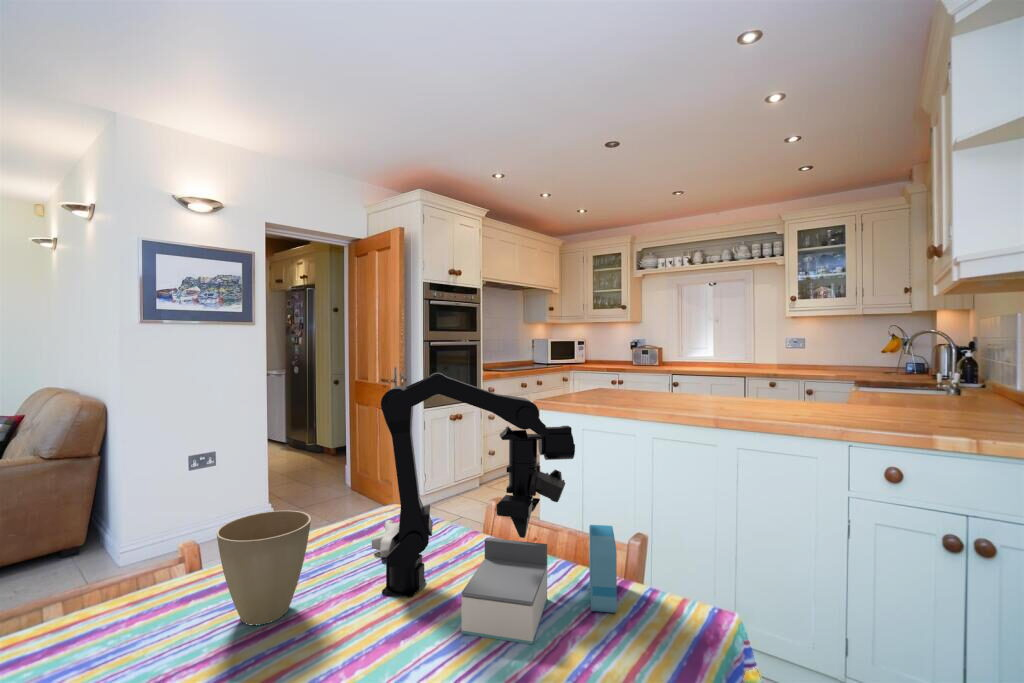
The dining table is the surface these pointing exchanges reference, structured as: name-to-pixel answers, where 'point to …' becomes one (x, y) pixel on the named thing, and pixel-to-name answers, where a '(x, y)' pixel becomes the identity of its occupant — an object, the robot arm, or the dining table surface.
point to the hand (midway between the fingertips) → (522, 537)
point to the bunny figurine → (385, 538)
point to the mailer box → (504, 617)
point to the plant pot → (263, 562)
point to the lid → (509, 571)
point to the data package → (602, 569)
